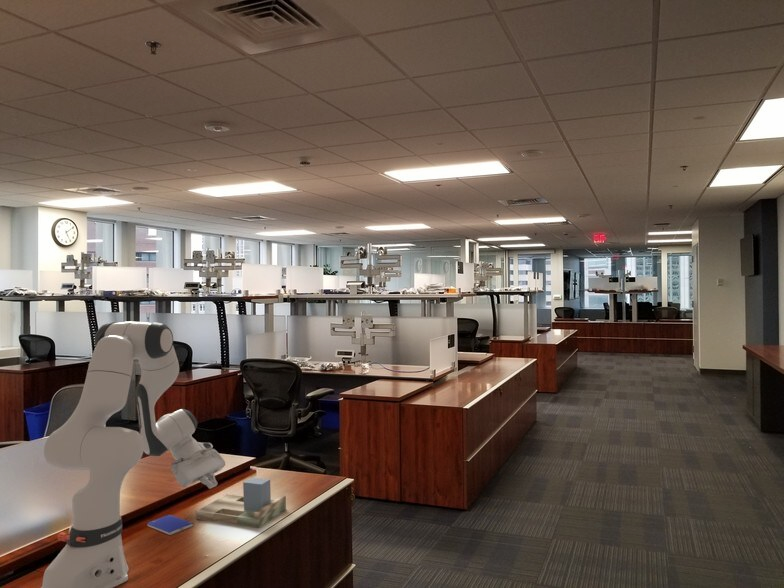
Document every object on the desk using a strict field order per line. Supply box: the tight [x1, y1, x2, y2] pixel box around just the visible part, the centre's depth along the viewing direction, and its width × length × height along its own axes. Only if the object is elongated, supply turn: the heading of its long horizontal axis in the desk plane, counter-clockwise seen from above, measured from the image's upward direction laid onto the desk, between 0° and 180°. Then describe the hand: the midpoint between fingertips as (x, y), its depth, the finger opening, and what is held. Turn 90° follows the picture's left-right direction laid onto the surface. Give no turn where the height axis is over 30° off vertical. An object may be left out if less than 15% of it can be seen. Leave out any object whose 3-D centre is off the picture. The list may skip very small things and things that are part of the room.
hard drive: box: [146, 514, 194, 536], centre depth 183 cm, size 2×8×12 cm
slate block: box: [242, 477, 272, 511], centre depth 189 cm, size 5×7×9 cm
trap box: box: [195, 494, 287, 529], centre depth 191 cm, size 16×24×4 cm, turn 69°
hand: (213, 486), depth 194 cm, fingers closed
